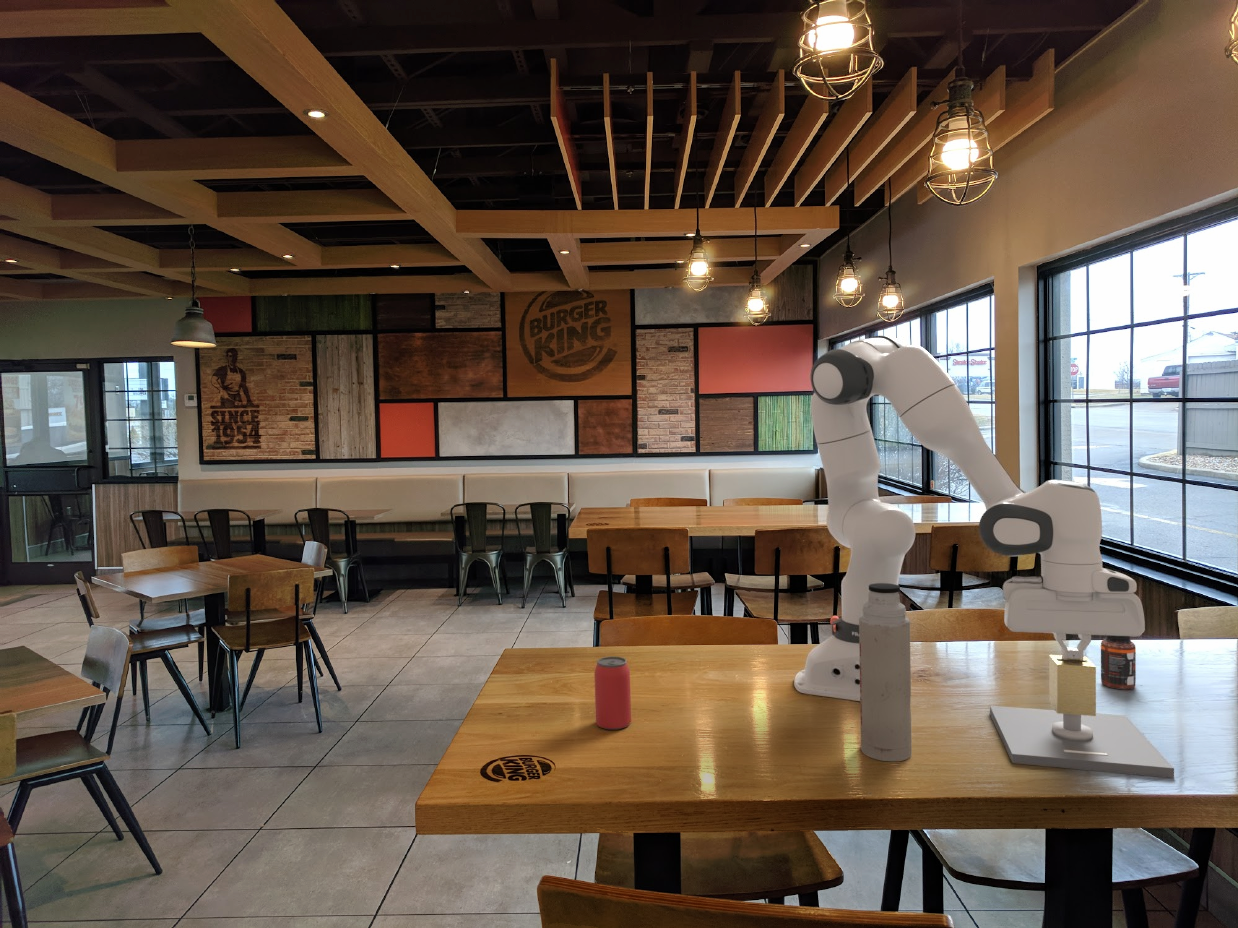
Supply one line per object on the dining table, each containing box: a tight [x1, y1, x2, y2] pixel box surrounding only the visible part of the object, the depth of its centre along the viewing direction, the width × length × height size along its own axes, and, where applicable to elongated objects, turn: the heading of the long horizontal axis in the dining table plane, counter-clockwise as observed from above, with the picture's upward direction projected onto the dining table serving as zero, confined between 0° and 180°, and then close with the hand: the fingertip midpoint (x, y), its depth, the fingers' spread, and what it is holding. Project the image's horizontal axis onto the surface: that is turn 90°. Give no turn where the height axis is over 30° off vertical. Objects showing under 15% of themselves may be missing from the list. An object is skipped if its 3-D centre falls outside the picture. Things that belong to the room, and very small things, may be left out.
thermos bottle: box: [859, 583, 913, 763], centre depth 127 cm, size 8×8×28 cm
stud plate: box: [989, 705, 1175, 779], centre depth 129 cm, size 22×22×10 cm
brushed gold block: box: [1048, 654, 1097, 716], centre depth 129 cm, size 6×6×8 cm
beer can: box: [594, 656, 632, 731], centre depth 143 cm, size 7×7×12 cm
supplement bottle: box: [1100, 635, 1137, 690], centre depth 156 cm, size 6×6×11 cm
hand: (1072, 659), depth 129 cm, fingers closed
